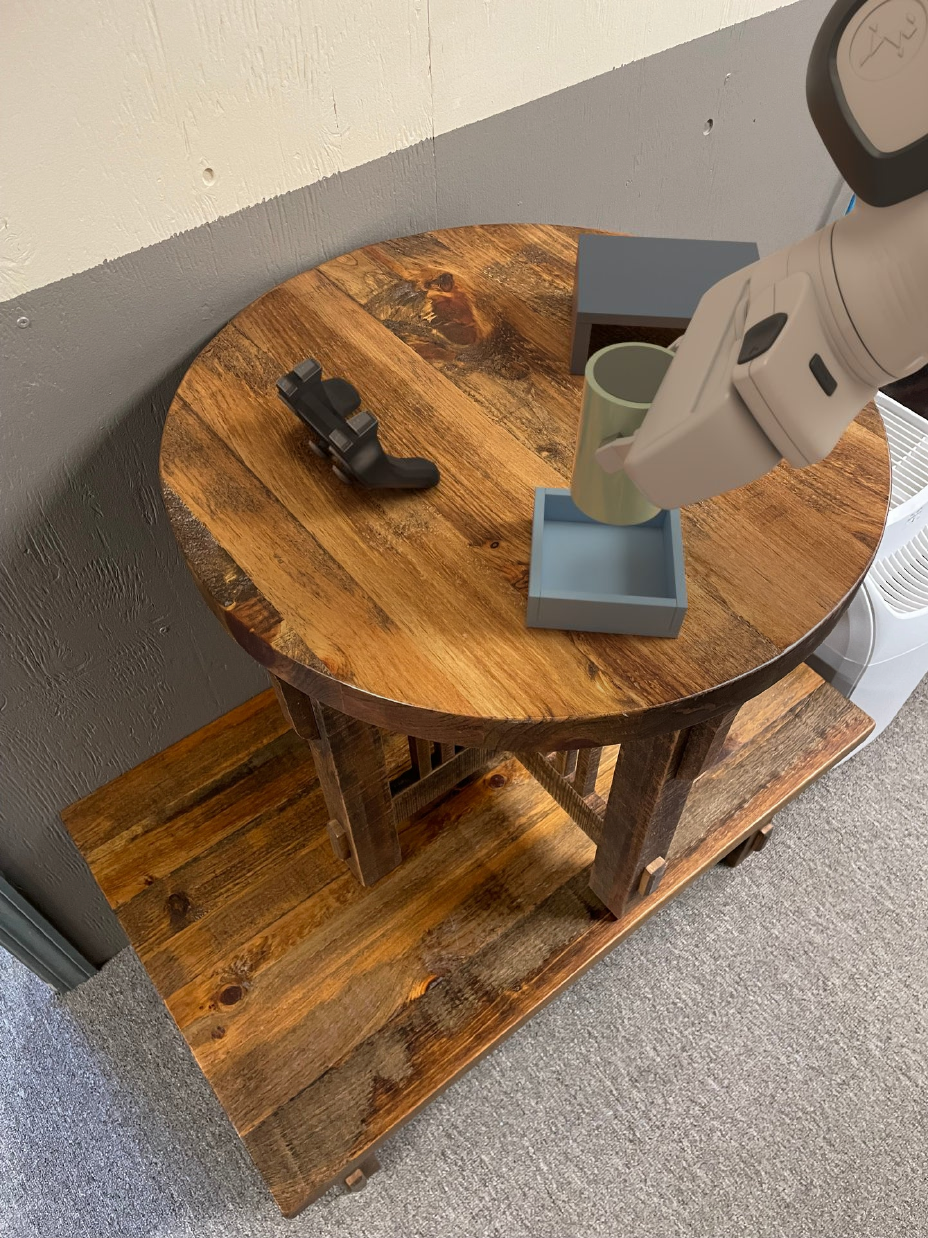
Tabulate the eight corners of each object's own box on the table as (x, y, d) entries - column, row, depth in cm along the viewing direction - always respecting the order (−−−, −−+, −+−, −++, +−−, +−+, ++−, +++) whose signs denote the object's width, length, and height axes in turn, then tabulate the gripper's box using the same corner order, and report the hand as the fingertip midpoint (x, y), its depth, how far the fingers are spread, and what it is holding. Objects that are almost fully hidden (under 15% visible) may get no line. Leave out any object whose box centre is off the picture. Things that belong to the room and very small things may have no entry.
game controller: (302, 437, 84) (241, 380, 75) (352, 387, 83) (296, 323, 75) (397, 536, 76) (340, 485, 67) (452, 481, 75) (402, 422, 67)
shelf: (739, 303, 93) (756, 242, 88) (753, 385, 85) (774, 322, 79) (572, 295, 94) (578, 233, 89) (569, 374, 86) (577, 311, 80)
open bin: (669, 528, 73) (678, 495, 70) (677, 638, 66) (688, 607, 63) (532, 518, 74) (535, 486, 71) (525, 627, 67) (528, 596, 64)
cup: (663, 462, 64) (691, 343, 56) (668, 528, 59) (699, 410, 51) (570, 457, 64) (585, 338, 56) (569, 522, 60) (585, 404, 52)
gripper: (823, 190, 52) (638, 302, 62) (751, 384, 40) (538, 483, 50) (872, 276, 54) (686, 370, 64) (818, 482, 42) (602, 557, 52)
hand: (621, 421), depth 57 cm, fingers closed on cup, 7 cm apart
